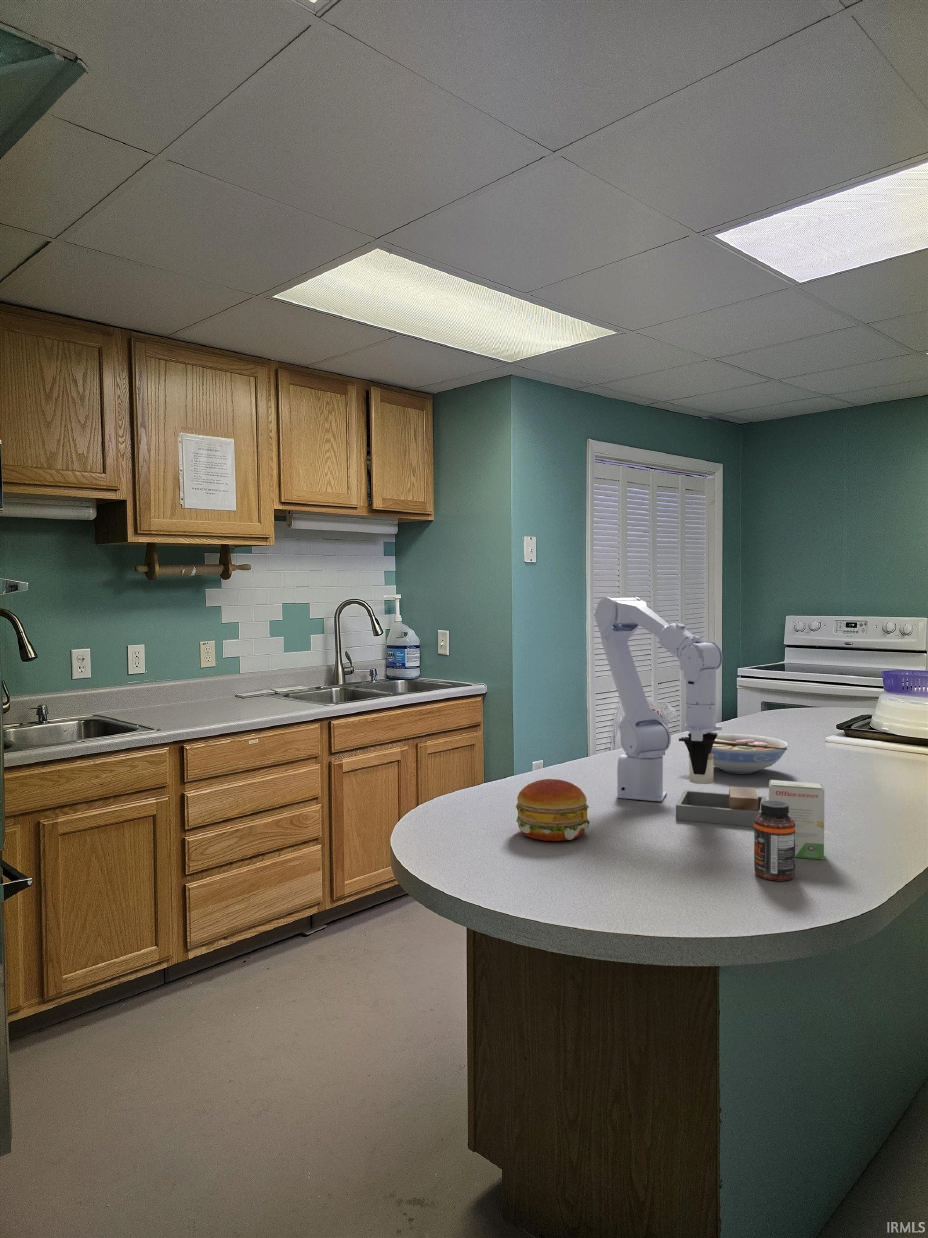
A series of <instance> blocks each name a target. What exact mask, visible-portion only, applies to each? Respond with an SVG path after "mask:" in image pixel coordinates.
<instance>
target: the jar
mask: <svg viewBox="0 0 928 1238" xmlns="http://www.w3.org/2000/svg"><path fill="white" fill-rule="evenodd" d="M688 758H689V759H688V763H689V764H688V766H689V768H688V770H689V771H688V772H689V774H688V776H689V777H688V780H689V782H690V783H691V784H696V785H697V784H698V785H711V784H714V765H713V759H714V754H712V753H709V756H708V762H707V768H706V772H705V775H700V774H694V773H693V769H692V764H691V758H690V754H689V753H688Z"/></svg>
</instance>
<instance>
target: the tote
mask: <svg viewBox="0 0 928 1238" xmlns="http://www.w3.org/2000/svg"><path fill="white" fill-rule="evenodd" d="M757 796H758V811H750V810H739V809H729V793H723V792H714V791H713V792H711V791H701V790H699V791H698V790H689V789H688V790H685V789H683V791H682V794H681V795H680V797H679V799H678V800H677V802H676V804H675V820H676V821H677V820H679V821H689V822H697V823H698V822H700V823H708V824H709V823H710V824H721V825H729V826H730V825H733V826H743V827H752V828H754V821H755V818H756V816H758V815H759V814H761V802H763V801H767V797H766V796H762V795H757Z"/></svg>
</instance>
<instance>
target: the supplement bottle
mask: <svg viewBox="0 0 928 1238" xmlns="http://www.w3.org/2000/svg"><path fill="white" fill-rule="evenodd" d="M788 813H789V805H788V804H787V803H785V802H782V801H775V800H769V799H768V800H766V801H763V802H761V814H759V815H758V816H756V818H755V821H754V827H753V830H754V832H753V833H754V834H753V837H754V838H753V840H754V841H753V845H754V846H753V849H754V850H753V854H754V855H753V864H754V867H753V869H754V873H755V874H756V876H758V877H759V878H762V879H764V880H768V881H776V882H786V881H790V880H792V879H794V878H795V875H796V857H795V821H794V820H793V819H792V818H791V817H790V816H788Z"/></svg>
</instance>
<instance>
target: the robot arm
mask: <svg viewBox="0 0 928 1238" xmlns="http://www.w3.org/2000/svg"><path fill="white" fill-rule="evenodd" d="M593 617H594V619H595V621H596V624H597V628H598V630H599V634H600V639H601V645H602V648H603V651H604V654H605V657H606V660H607V664H608V666H609V670H610V672H611V674H612V679H613V681H614V684H615V688H616V691H617V693H618V698H619V700H620V704H621V706H622V709H623V713H624V716H623V718H622V719H621V720H620V721H619V723H618V729H619V733H620V734H619V736H620V737H619V739H620V745H621V748H622V750H623V751H624V753H625V754H623V753H621V754H619V756H618V760H617V771H616V774H617V775H616V776H617V777H616V779H617V782H616V783H617V785H616V787H617V794H616V798H617V799H626V800H637V801H639V800H640V801H650V802H663V800H664V799H665V797H666V796H667V793H668V792H667V791H665V790H664V789H663V788H664V787H663V782H664V780H663V779H664V777H663V773H664V772H663V771H664V770H663V769H664V765H663V764H664V762H663V761H664V759H663V758H664V757H663V756H665V755H666V751H667V750H668V749H669V748H670V746H671V743H672V741H671V740H672V735H671V732H670V729H669V728H668V727H667V725H666V724H665V723H664V721H663V719H662V716H661V715H660V714H659V713H658V712H656V711H654V710H653V709H652V708H650V706H649V702H648V699H647V696H646V694H645V691H644V687H643V684H642V682H641V679H640V676H639V673H638V670H637V667H636V664H635V661H634V657H633V655H632V652H631V649H630V646H629V644H628V643H629V640H630V639H631V638H632V637H633V636H634V635H635V633H636V632H637V630H638V628H639V627H641V628H643V629H644V630H646V631H647V632H649V633H650V634H652V635H654V636H655V637H657V638H658V642H659V645H660V647H662V648H663V649H664V650H666V651H667V652H668V653H670V654H671V655H672V656H674V657H675V658H677V659H678V660H679V664H680V666H681V668H682V671H683V678H684V680H685V724H684V729H685V730H686V731H688V734H687V736H685V738H684V741H683V742H684V745H685V747H686V749H687V751H688V755H689V754H690V758H691V764H692V769H693V773H694V774H700V775H705V772H706V768H707V762H708V756H709V753H711V750H712V747H713V743H714V741H715V739H716V737H717V734H718V733H717V732H716V731H722V730H723V725H720V724H719V725H717V670H718V669H719V668H721V666H722V663H723V652H722V649H721V647H719V646H718V644H717V643H716V642H714V641H703V640H702V639H701V638H702V637H700V636H699V635H695V634H694V633H691V632H690V631H689V630H688V629H686V625H684V624H683V623H671V624H669V622H667V621H666V620H664V618H663V617H660V615H658V614H657V613H656V612H654V611H653V610H652V609H651V608H650V607H649V606H648V604H647V602H646V601H645V600H642V599H641V598H639V597H637V596H632V597H608V596H606V597H602V598H601V599H600V600H599V601H598V603H597V606H596V608H595V611H594V614H593Z"/></svg>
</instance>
